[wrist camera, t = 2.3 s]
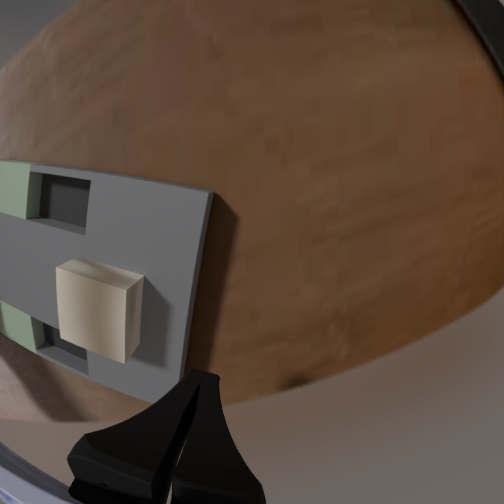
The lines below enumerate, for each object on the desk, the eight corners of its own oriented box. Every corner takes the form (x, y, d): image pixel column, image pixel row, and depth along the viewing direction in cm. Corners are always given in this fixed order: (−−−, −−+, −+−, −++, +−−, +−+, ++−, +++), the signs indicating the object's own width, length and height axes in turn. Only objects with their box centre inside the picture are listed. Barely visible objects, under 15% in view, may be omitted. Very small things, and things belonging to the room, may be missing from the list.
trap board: (6, 320, 21) (-15, 335, 18) (2, 159, 17) (-26, 160, 14) (181, 394, 21) (170, 423, 18) (215, 191, 17) (202, 194, 14)
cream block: (79, 322, 18) (60, 337, 15) (78, 256, 17) (55, 267, 14) (139, 343, 18) (124, 363, 15) (144, 275, 17) (126, 290, 14)
